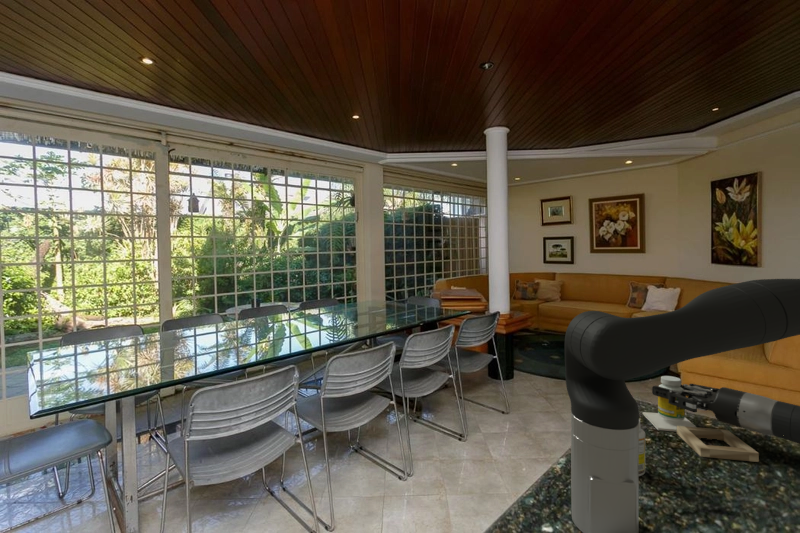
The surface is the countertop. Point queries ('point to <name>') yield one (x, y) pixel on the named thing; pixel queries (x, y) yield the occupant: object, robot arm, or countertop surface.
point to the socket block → (734, 452)
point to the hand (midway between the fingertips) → (659, 387)
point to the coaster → (666, 422)
